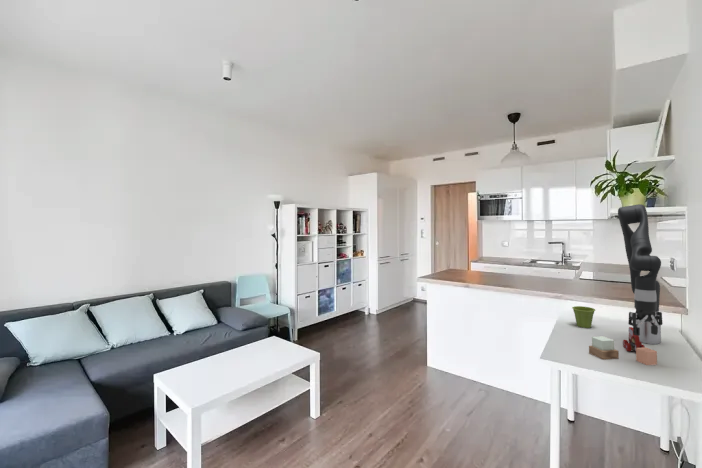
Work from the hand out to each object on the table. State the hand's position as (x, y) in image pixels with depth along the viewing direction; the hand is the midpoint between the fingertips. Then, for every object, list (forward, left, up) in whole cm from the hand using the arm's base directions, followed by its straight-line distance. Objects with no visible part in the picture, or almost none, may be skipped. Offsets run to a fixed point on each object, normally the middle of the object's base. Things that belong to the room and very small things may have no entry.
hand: (645, 334), depth 150 cm
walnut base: (+12, -10, -13) cm, 20 cm away
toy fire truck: (-8, -14, -13) cm, 21 cm away
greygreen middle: (+12, -10, -9) cm, 18 cm away
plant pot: (-14, -53, -13) cm, 56 cm away
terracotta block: (0, 0, -13) cm, 13 cm away
